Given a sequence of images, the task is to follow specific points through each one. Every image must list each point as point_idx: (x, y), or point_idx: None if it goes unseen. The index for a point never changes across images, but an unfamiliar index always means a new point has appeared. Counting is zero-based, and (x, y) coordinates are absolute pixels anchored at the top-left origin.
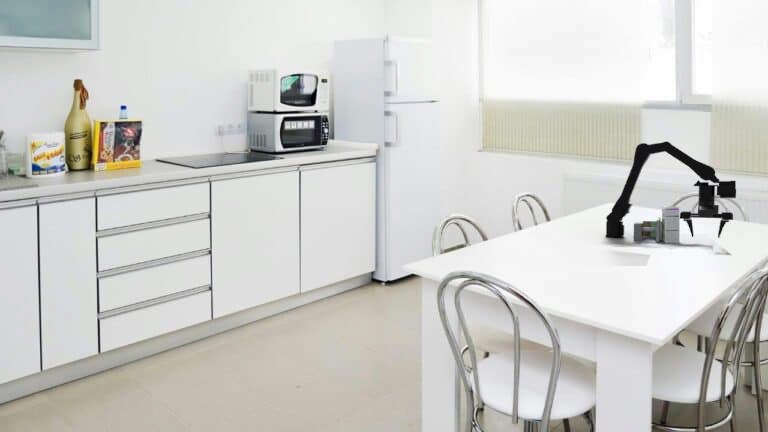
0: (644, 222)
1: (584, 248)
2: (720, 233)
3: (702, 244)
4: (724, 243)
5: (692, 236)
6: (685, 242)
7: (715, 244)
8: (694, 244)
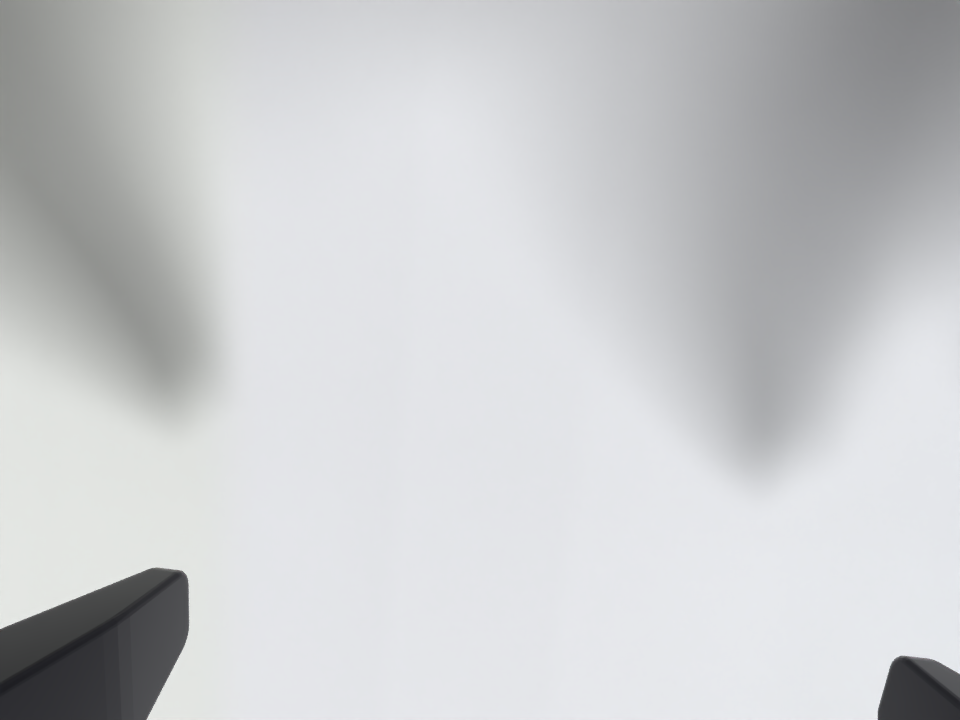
0: None
1: None
2: (15, 625)
3: (632, 246)
4: None
5: (931, 662)
6: None
7: (318, 336)
8: (845, 186)
